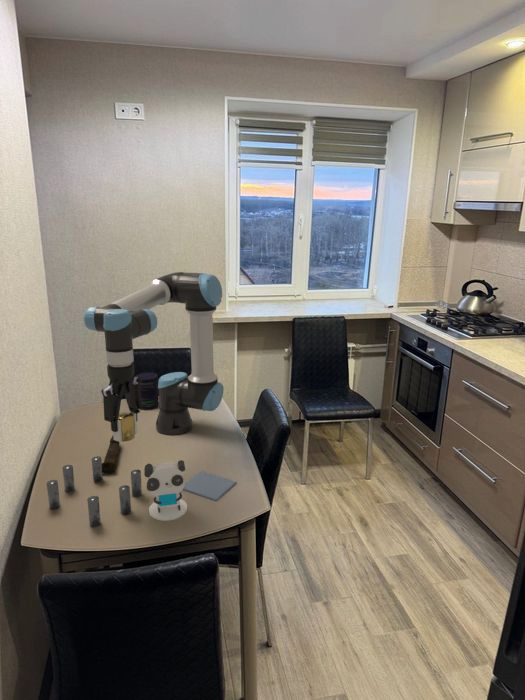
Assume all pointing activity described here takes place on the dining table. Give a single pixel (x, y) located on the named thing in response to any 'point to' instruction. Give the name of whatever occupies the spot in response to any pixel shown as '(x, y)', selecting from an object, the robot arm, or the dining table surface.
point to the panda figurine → (166, 489)
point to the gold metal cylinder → (127, 426)
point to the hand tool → (111, 457)
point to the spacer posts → (94, 500)
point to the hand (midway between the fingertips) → (125, 436)
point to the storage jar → (149, 390)
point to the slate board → (208, 485)
